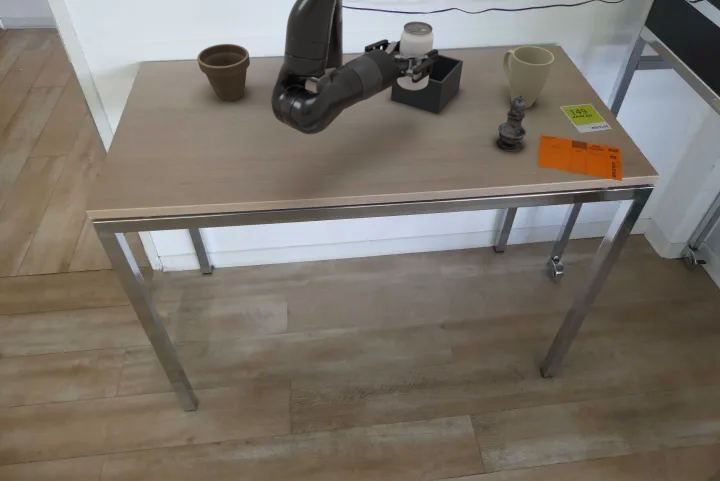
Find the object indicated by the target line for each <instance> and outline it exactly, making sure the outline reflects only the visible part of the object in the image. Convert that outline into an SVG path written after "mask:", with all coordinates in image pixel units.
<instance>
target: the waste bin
mask: <svg viewBox="0 0 720 481" xmlns="http://www.w3.org/2000/svg"><path fill="white" fill-rule="evenodd" d="M463 66H464V60H461V59H458V58H454V57H451V56H446V55H443V54H440V53H438V60H437V61H436V62H434V63H433V67H432V73H431V74H429V79H428V84H427V86H426V87H425V88H423V89H421V90H416V91H412V90H406V89H404V88H402V87H401V86H400V85H399V84H398V82H397V80H396V81H395V83H394V84H393V85H392V86H391V91H390V92H391V93H390V100H392V101H394V102H398V103H400V104H404V105H407V106H410V107H414V108H417V109H419V110H423V111H426V112H429V113H433V114H435V115H439V114H440V113H441V111H443V109H444V108H445V107H446V106H447V105H448V104H449V102H450V101H451V100H452V99H453V98H454V97H455V95H456V94H457V93H458V92H459V90H460V84H461V78H462V72H463Z"/></svg>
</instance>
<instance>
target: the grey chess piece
mask: <svg viewBox="0 0 720 481" xmlns="http://www.w3.org/2000/svg"><path fill="white" fill-rule="evenodd" d="M521 97H522V95H519V97H517V98H514V99H513V100H512V103H511V104H510V108H509V110H508V111H507V112H506V115H507V118H506V119H507V120H506V122H503V123H501V124H499V126H498V128H497V131H498V136H499V138H498V139H496V146H497V147H498V149H500V150H502V151H505V152H517V151H520V149H521V148H522V142H521V141H522V140H523V138H524V137H525V136H526V135H527V129H526V128H525V127H524V126H523V125H522V122H523V120H524V118H525V117H526V114H525V111H526V110H525V109H526V108H525V106H526V101H525V99H523V98H521Z"/></svg>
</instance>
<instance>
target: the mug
mask: <svg viewBox="0 0 720 481" xmlns="http://www.w3.org/2000/svg"><path fill="white" fill-rule="evenodd" d="M510 55H511V63H510V67H509V58H510ZM554 61H555V55H554V54H553V53H552V52H551V51H549V50H547V49H545V48H543V47H540V46H534V45H524V46H518V47H517V48H515V49H509V50H507V51H505V53H504V56H503V60H502V63H503V65H502V66H503V70H504V73H505V76H506V78H507V80H508V84H509V94H510V102H511V103H512V100H513V99H514V98H517V97H519V95H522V97H521V98H523V99H525V101H526V106H525V109H528V108H531V107H532V106H533V104H534V103H535V101H536V100H537V98H538V97H539V95H540V94H541V92H542V91H543V89H544V87H545V85H546V83H547V81H548V78H549V75H550V72H551V69H552V66H553V63H554Z"/></svg>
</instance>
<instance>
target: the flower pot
mask: <svg viewBox="0 0 720 481" xmlns="http://www.w3.org/2000/svg"><path fill="white" fill-rule="evenodd" d="M197 63H198V68H199V69H200V71H201V72H202V73H203V74H205V75H206V77H207V80H208V82H209V84H210V86H211V89H212V90H213V92H214V94H215V95H216V97H217V98H218V99H219V100H222V101H225V102H231V101H236V100H239V99H241V98H242V97H243V96H244V94H245V91H246V90H245V88H246V83H247V82H246V81H247V72H248V68H249V67H250V64H251V60H250V53H249V51H248V50H247V48H245V47H243V46H241V45H239V44H233V43H219V44H215V45H211V46H207V47H206V48H204V49H202V50H200V52H199V53H198V55H197Z"/></svg>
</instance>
